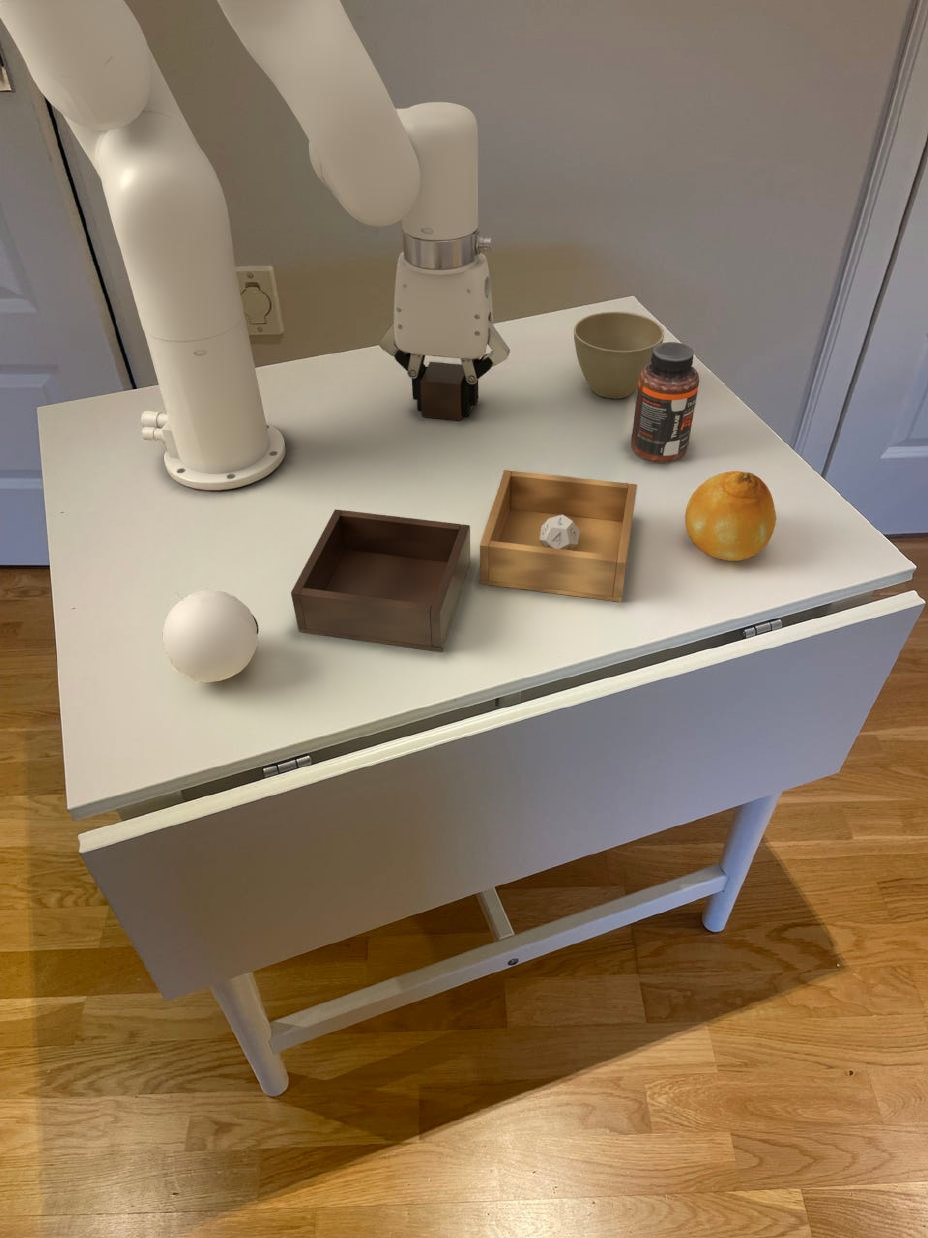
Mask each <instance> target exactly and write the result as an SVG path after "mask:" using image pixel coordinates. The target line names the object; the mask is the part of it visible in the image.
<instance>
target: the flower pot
mask: <svg viewBox="0 0 928 1238" xmlns="http://www.w3.org/2000/svg"><path fill="white" fill-rule="evenodd" d="M664 339H665V330H664V328H663V327H662V326H661V324H660V323H658V322H657V321H656V320H654V319H652V318H650V317H647V316H645V315H642V314H638V313H634V312H628V311H603V312H598V313H593V314H590V315H587V316H585V317H582V318H581V319H579V320H578V321H577V323H575V325H574V327H573V340H574V347H575V352H576V357H577V361H578V365H579V367H580V370H581V372H582V374H583V376H584V379H585V380H586V382H587V384H588V386H589V388H590V389H591V391H592V393H594V394H596V395H597V396H599V397H602V398H605V399H611V400H613V399H614V400H616V399H624V398H627V397H630V396H631V395H632V394H634V392H636V390H638V384H639V377H640V373H641V371H642V369H643V368H644V367H645V366H646V365H648V364H649V363H651V357H652V353H653V349H654V347H655V346H656V345H658V344H661V343H664Z"/></svg>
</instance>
